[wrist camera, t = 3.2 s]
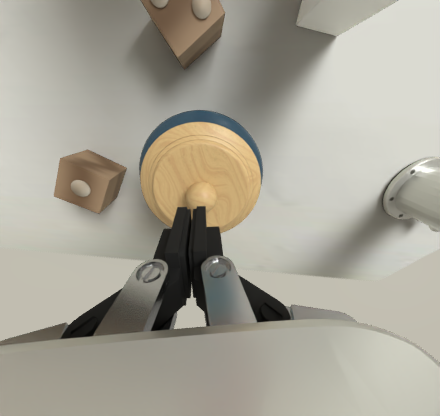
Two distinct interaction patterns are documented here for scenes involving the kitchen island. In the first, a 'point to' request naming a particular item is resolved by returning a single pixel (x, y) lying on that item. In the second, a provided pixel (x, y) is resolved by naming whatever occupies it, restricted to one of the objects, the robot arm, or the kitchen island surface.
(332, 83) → the kitchen island surface
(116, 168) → the dotted block
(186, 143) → the canister
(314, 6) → the milk
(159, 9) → the dotted block
